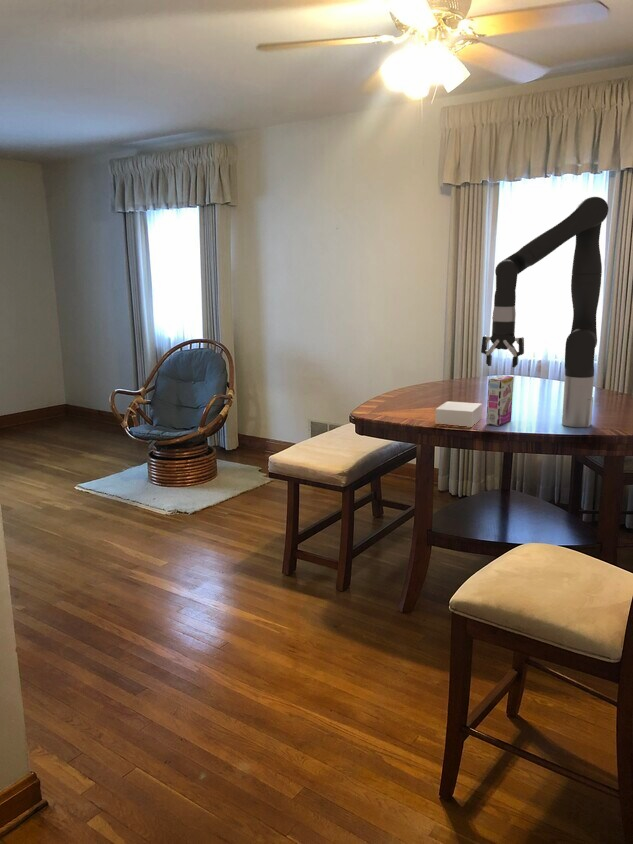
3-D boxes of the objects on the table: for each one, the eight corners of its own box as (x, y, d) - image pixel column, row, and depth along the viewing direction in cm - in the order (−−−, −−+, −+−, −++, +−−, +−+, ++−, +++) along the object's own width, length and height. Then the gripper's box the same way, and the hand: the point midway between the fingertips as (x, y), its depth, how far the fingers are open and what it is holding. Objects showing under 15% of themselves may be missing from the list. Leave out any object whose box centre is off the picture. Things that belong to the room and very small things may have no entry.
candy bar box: (499, 426, 228) (501, 380, 224) (485, 425, 231) (487, 378, 227) (512, 420, 236) (514, 375, 233) (499, 419, 239) (501, 374, 236)
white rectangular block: (481, 419, 241) (482, 403, 239) (471, 428, 228) (472, 411, 226) (446, 417, 246) (447, 401, 245) (435, 425, 233) (435, 409, 232)
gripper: (527, 319, 225) (524, 366, 229) (486, 318, 232) (484, 364, 236) (522, 321, 219) (519, 369, 222) (480, 320, 226) (478, 366, 230)
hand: (501, 366), depth 229 cm, fingers open, 8 cm apart
